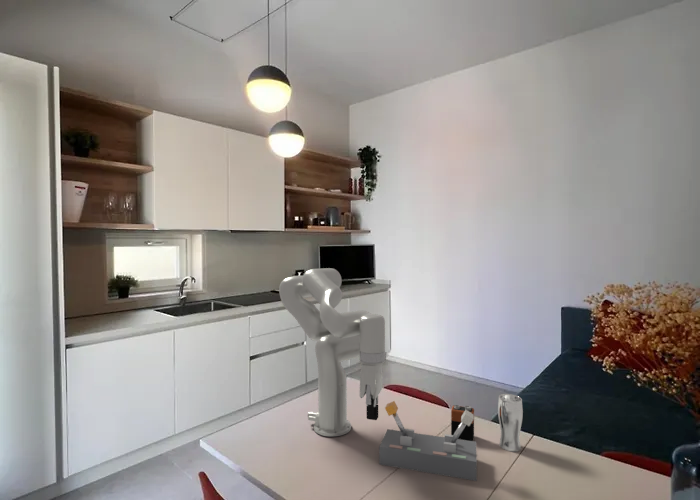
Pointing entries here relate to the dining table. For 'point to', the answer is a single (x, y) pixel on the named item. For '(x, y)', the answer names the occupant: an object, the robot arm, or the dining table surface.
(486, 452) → the dining table surface
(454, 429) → the battery
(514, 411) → the beer glass
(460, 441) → the switch box
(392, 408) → the orange lever
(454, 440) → the on lever
